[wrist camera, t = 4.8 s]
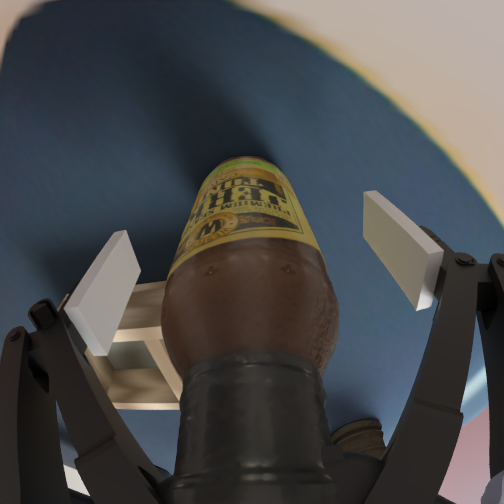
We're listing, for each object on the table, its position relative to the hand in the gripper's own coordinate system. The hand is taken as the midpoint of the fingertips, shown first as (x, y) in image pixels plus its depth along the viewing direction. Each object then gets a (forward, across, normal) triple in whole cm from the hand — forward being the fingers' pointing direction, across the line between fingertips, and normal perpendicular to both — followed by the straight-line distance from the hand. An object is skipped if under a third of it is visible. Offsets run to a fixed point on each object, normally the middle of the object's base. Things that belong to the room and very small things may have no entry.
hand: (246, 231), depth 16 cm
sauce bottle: (+6, 0, 0) cm, 6 cm away
